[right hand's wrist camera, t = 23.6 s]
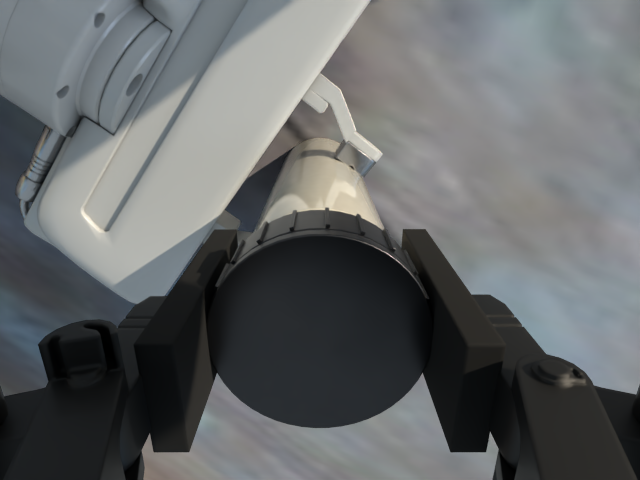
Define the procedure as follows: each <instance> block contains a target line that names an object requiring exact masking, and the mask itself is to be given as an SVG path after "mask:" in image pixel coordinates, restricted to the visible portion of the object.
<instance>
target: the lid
mask: <svg viewBox="0 0 640 480" xmlns="http://www.w3.org/2000/svg"><path fill="white" fill-rule="evenodd" d="M417 274H418V272H417V270H416V268H415V266H414V264H413V262H412V260H411V258H410V256H409V254H408V252H407V251H406V249H405V250H402V249H401V248H400V246H399V245H398V244H397V243H396V241H395V240H393V239H392V238H391V237H390V235H389V233H388V230H387V229H385V228H384V229H383V230H382V229H380V228H379V227H378V226H376V225H374V224H373V223H371V222H369V221H367V220H365V219H363V218H361V215H360V214H357V215H356V216H355V215H352V214H348V213H344V212H340V211H332V210H329V208H327V207H325V210H308V211H301V212H297V210H293V212H292V214H288V215H285V216H282V217H280V218H278V219H275V220H273V221H271V222H269V223H268V222H267V221H265V222H264V223H263V225H262V227H261V228H259V229H258V230H257V231H255V232H254V233H253V234H252V235H250V236H249V237H248V238H247V239H246V241H244V240H243V239H242V240H241V242H240V244H239V246H238V248H237V250H236V252H235V254H234V256H233V258H232V260H231V262H230V264H228V263H226V265H225V267H224V269H223V271H222V273H221V275H220V277H219V279H218V281H217V283H216V285H215V287H214V290H217V291H216V292H215V295H214V297H213V299H212V302H211V305H210V308H209V312H208V318H207V339H208V348H209V353H210V356H211V360H212V362H213V364H214V367H215V369H216V371H217V373H218V374H219V376H220V378H221V379H222V381H223V382H224V384H225V385H226V386H227V387H228V388H229V390H230V391H231V392H232V393H233V394H234V395H235V396H236V397H237V398H239V399H240V400H241V401H242V402H243V403H245V404H246V405H247V406H249V407H250V408H252V409H253V410H255V411H257V412H259V413H260V414H262V415H264V416H267V417H269V418H271V419H274V420H276V421H279V422H283V423H286V424H290V425H295V426H300V427H310V428H331V427H339V426H345V425H350V424H354V423H357V422H360V421H363V420H366V419H369V418H371V417H373V416H375V415H378V414H380V413H381V412H383V411H385V410H386V409H388V408H390V407H391V406H393V405H394V404H395V403H396V402H398V401H399V400H400V399H402V398H403V397H404V396H405V395H406V394H407V393H408V392H409V391H410V390H411V388H412V387H413V386H414V385H415V383H416V382H417V381H418V379H419V378H420V376H421V374H422V372H423V371H424V369H425V367H426V364H427V362H428V359H429V357H430V353H431V346H432V337H433V317H432V313H431V308H430V305H429V302H430V299H429V297H428V295H427V293H426V291H425V289H424V287H423V285H422V283H421V281H420V279H419V277H418V275H417Z"/></svg>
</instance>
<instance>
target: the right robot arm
mask: <svg viewBox="0 0 640 480" xmlns="http://www.w3.org/2000/svg"><path fill="white" fill-rule="evenodd" d="M237 248H238V239H237V229H214V230H213V232H212V233H211V235H210V236H209V238H208V239H207V240H206V242H205V243H204V245H203V246H202V248H201V249H200V250H199V252H198V253H197V255H196V256H195V258H194V259H193V260H192V262H191V263H190V265H189V266H188V267H187V269H186V270H185V272H184V273H183V275H182V276H181V277H180V279H179V280H178V282H177V283H176V285H175V286H174V287H173V289H172V290H171V292H170V293H169V295H168V296H150V297H148V298H146V299H145V300H143V301H142V302H140V303H138V304H137V305H135V306H134V307H133V309H132V310H131V311H130V312H129V314H128V315H127V316H126V319H124V320H123V321H122V322H121V323H120V325H119V326H118V328H117V327H116V326H115V325H114V324H113V323H111V322H109V321H104V320H85V321H80V322H76V323H71V324H69V325H66V326H64V327H61V328H59V329H56V330H55V331H53V332H52V333H50V334H48V335H47V336H45V337H44V338H43V340H42V341H41V342H40V343H39V344H38V346H39V350H40V353H41V357H42V360H43V364H44V367H45V371H46V374H47V378H48V381H49V382H48V384H47V386H46V388H42V389H38V390H34V391H29V392H24V393H19V394H14V395H9V396H4V395H3V392H2V389H1V386H0V480H143V477H144V461H143V456H142V451H141V450H142V448H143V446H144V444H145V442H146V440H147V438H148V435H149V433H150V435H151V440H152V446H153V451H154V452H189V451H190V448H191V445H192V443H193V440H194V437H195V434H196V431H197V428H198V425H199V423H200V420H201V417H202V414H203V411H204V408H205V405H206V403H207V400H208V397H209V394H210V391H211V388H212V385H213V383H214V380H215V377H216V374H217V371H216V369H215V367H214V364H213V362H212V360H211V356H210V353H209V348H208V339H207V318H208V312H209V308H210V305H211V302H212V299H213V297H214V295H215V292H216V291H217V290H214V287H215V285H216V283H217V281H218V279H219V277H220V275H221V273H222V271H223V269H224V267H225V265H226V263H228V264H230V262H231V260H232V258H233V256H234V254H235V252H236V250H237ZM405 249H406V251H407V252H408V254H409V256H410V258H411V260H412V262H413V264H414V266H415V268H416V270H417V272H418V274H417V275H418V277H419V279H420V281H421V283H422V285H423V287H424V289H425V291H426V293H427V295H428V297H429V299H430V302H429V305H430V308H431V313H432V317H433V337H432V346H431V353H430V357H429V359H428V362H427V364H426V367H425V369H424V371H423V375H424V378H425V380H426V383H427V386H428V389H429V392H430V395H431V398H432V400H433V403H434V406H435V409H436V412H437V415H438V418H439V420H440V423H441V426H442V429H443V432H444V435H445V438H446V440H447V443H448V446H449V449H450V452H486V450H487V444H488V439H489V434H490V432H491V434H492V436H493V438H494V440H495V442H496V444H497V446H498V448H499V451H498V456H497V460H496V465H495V470H494V475H493V480H640V385H639V388H638V391H637V394H636V395H635V394H630V393H625V392H620V391H615V390H611V389H606V388H601V387H597V386H594V385H593V383H592V381H591V380H590V378H589V377H588V376H587V374H586V373H585V372H584V371H583V370H581V369H580V368H578V367H577V366H576V365H574V364H573V363H570V362H568V361H566V360H564V359H561V358H559V357H555V356H551V355H547V354H546V353H545V352H544V351H543V350H542V349H541V347H540V346H539V345H538V344H537V343H536V341H535V340H534V339H533V338H532V336H531V335H530V334H529V333H528V332H527V330H526V329H525V328H524V327H522V324H521V323H520V322H519V321H518V319H517V318H516V317H514V315H513V313H512V312H511V311H510V310H509V308H508V307H507V306H506V305H505V304H504V303H502V302H501V301H499V300H497V299H496V298H494V297H493V296H491V295H471V294H470V292H469V291H468V289H467V288H466V286H465V285H464V284H463V282H462V281H461V279H460V278H459V276H458V275H457V274H456V272H455V271H454V269H453V268H452V266H451V265H450V264H449V262H448V261H447V259H446V258H445V256H444V255H443V254H442V252H441V251H440V249H439V248H438V247H437V245H436V244H435V242H434V241H433V239H432V238H431V237H430V235H429V234H428V232H427V231H426V229H403V236H402V250H405Z"/></svg>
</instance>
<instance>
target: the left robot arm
mask: <svg viewBox="0 0 640 480" xmlns="http://www.w3.org/2000/svg"><path fill="white" fill-rule="evenodd" d="M370 1H371V0H0V95H1V96H3V97H4V98H6V99H7V100H9V101H10V102H12V103H14V104H15V105H17V106H19V107H20V108H22V109H23V110H25V111H26V112H28V113H29V114H31V115H32V116H34V117H35V118H37V119H38V120H40V121H41V122H43V123H44V124H46V125H45V127H44V129H43V132H42V134H41V136H40V138H39V140H38V142H37V144H36V146H35V149H34V152H33V155H32V158H31V161H30V163H29V166H28V167H27V169H26V171H24V172H23V173H22V175H21V176H20V178H19V180H18V182H17V185H16V189H15V195H16V196H17V197H18V198H19V199H20V211H21V215H22V217H23V219H24V225H25V226H26V227H27V229H28V230H30V231H31V232H32V233H33V234H34V235H36V236H38V237H40V238H41V239H43V240H45V241H46V242H48V243H50V244H51V245H53V246H55V247H56V248H57V249H58V250H60V251H61V252H62V253H63V254H64V255H65V256H67V257H68V258H69V259H70V260H71V261H73V262H74V263H75V264H76V265H78V266H79V267H80V268H82V269H83V270H84V271H85V272H87V273H88V274H89V275H91V276H92V277H93V278H95V279H96V280H97V281H99V282H100V283H102V284H103V285H104V286H106V287H107V288H109V289H110V290H112V291H113V292H115V293H116V294H118V295H119V296H121V297H122V298H124V299H126V300H127V301H129V302H131V303H134V304H138V303H140V302H142V301H143V300H145V299H146V298H148V297H150V296H165V295H166V294H167V292H168V291H169V289H170V288H171V287H172V285H173V284H174V282H175V281H176V279H177V278H178V277H179V275H180V274H181V272H182V271H183V269H184V268H185V267H186V265H187V264H188V262H189V261H190V259H191V258H192V256H193V255H194V253H195V252H196V250H197V249H198V248H199V246H200V245H201V243H203V244H204V243H205V242H206V240H207V239H208V238H209V236H210V235H211V233H212V232H213V230H214V229H237V239H238V246H239V244H240V242H241V240H242V239H243V240H244V241H246V239H247V238H248V237H249V236H250V235H252V234H253V233H252V232H245V231H238V228H239V226H240V224H241V221H240V220H239V219H237V218H236V217H234V216H233V215H231V214H230V213H229V212H227V211H226V210H225V209H226V207H227V206H228V204H229V203H230V202H231V200H232V199H233V197H234V196H235V194H236V193H237V191H238V190H239V189H240V187H241V186H242V184H243V183H244V181H245V180H246V179H247V177H248V176H249V174H250V173H251V171H252V170H253V168H254V167H255V166H256V164H257V163H258V161H259V160H260V158H261V157H262V156H263V154H264V153H265V151H266V150H267V148H268V147H269V146H270V144H271V143H272V141H273V140H274V138H275V137H276V135H277V134H278V133H279V131H280V130H281V128H282V127H283V125H284V124H285V123H286V121H287V120H288V118H289V117H290V115H291V114H292V112H293V111H294V110H295V108H296V107H297V105H298V104H299V102H300V101H301V100H303V101H304V102H306V103H307V104H308V105H310V106H311V107H312V108H314V109H315V110H316V111H318V112H319V113H323V112H324V111H325V109H326V108H327V107H328V104H327V103H329V104H330V105H331V108H332V110H333V113H334V115H335V118H336V120H337V123H338V125H339V128H340V130H341V133H342V135H343V138H344V140H343V141H342V143H341V144H340V145H339V147H338V148H337V150H336V151H335V154H336V158H338V159H339V160H340V161H342V162H343V163H344V164H346V165H348V166H353V169H354V171H355V172H356V173H357V174H359V175H360V176H362V177H365V176H366V174H367V173H368V172H369V171H370V169H371V168H372V167H373V166H374V165H375V163H376V162H377V161H378V160H379V158H380V157H381V156H382V155H383V154H382V153H381V151H380V150H378V149H377V148H376V147H375V146H374V145H373V144H371V143H370V142H369V141H368V140H366V139H365V138H364V137H363V136H361V135H360V134H359V133H357V132H356V128H355V126H354V123H353V120H352V118H351V115H350V113H349V110H348V108H347V105H346V102H345V100H344V97H343V95H342V92H341V90H340V89H339V88H338V87H337V86H335V85H334V84H333V83H332V82H330V81H329V80H328V79H327V78H326V77H324V76H323V75H322V74H321V73H320V72H321V71H322V69H323V68H324V66H325V65H326V64H327V62H328V61H329V59H330V58H331V56H332V55H333V54H334V52H335V51H336V49H337V48H338V46H339V45H340V44H341V42H342V41H343V40H344V38H345V37H346V35H347V34H348V32H349V31H350V30H351V28H352V27H353V25H354V24H355V22H356V21H357V19H358V18H359V17H360V15H361V14H362V12H363V11H364V9H365V8H366V7H367V5H368V4H369V2H370ZM29 202H33V203H32V205H31V207H30V209H29Z"/></svg>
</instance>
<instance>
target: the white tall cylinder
mask: <svg viewBox="0 0 640 480" xmlns="http://www.w3.org/2000/svg"><path fill="white" fill-rule="evenodd" d="M339 145H340V143H338V142H336V141H333V140H330V139H326V138H314V139H309V140H306V141H304V142H301V143H300V144H298V145H297V146H295V147H294V148H293V149H292V150H291V151H290V152H289V153H288V155H287V157H286V158H285V160H284V162H283V165H282V167H281V169H280V172H279V174H278V176H277V178H276V181H275V183H274V185H273V188H272V190H271V192H270V195H269V197H268V199H267V202H266V204H265V206H264V208H263V211H262V213H261V215H260V218H259V220H258V222H257V225H256V227H255V229H254V231H253V233H254V232H255V231H257V230H258V229H259V228H261V227H262V225H263V223H264V222H265V221H267V222H268V223H269V222H271V221H273V220H275V219H278V218H280V217H282V216H285V215H288V214H292V212H293V210H297V212H301V211H308V210H325V207H327V208H329V210H332V211H340V212H344V213H348V214H352V215H355V216H356V215H357V214H360V215H361V218H363V219H365V220H367V221H369V222H371V223H373V224H374V225H376V226H378V227H379V228H380V229H382V230H383V229H384V227H383V224H382V222H381V220H380V217H379V215H378V213H377V210H376V208H375V206H374V204H373V201H372V199H371V197H370V194H369V192H368V190H367V187H366V185H365V183H364V180H363V178H362V176H360V175H359V174H357V173H356V172H355V171H354V169H353V166H348V165H346V164H344V163H343V162H342V161H340V160H339V159H338V158H336V154H335V151H336V150H337V148H338V147H339Z"/></svg>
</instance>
